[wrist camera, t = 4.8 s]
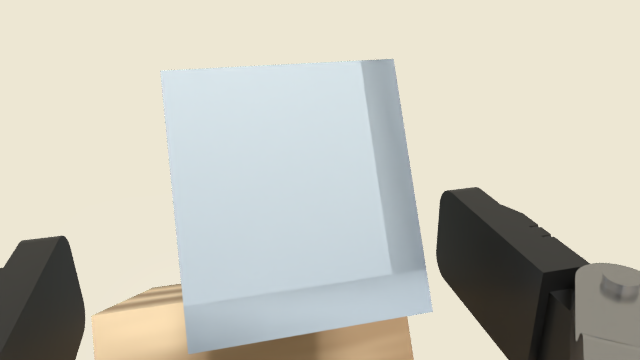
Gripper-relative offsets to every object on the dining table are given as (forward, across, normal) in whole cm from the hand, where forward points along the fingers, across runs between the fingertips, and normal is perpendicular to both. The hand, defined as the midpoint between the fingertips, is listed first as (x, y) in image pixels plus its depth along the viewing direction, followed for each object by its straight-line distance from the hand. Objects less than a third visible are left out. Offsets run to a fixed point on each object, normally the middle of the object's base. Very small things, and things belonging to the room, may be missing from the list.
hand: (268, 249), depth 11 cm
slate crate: (+9, 0, +7) cm, 11 cm away
